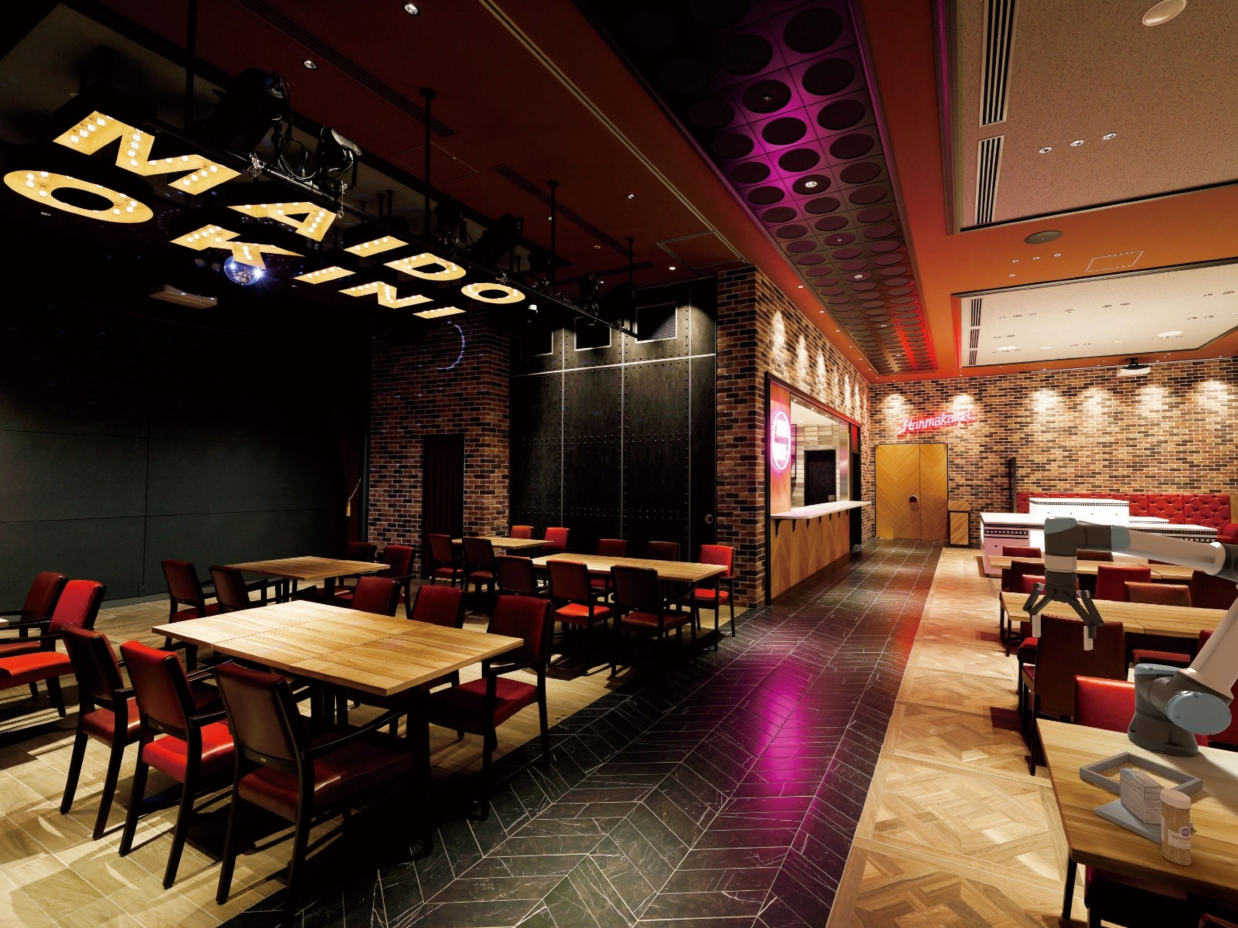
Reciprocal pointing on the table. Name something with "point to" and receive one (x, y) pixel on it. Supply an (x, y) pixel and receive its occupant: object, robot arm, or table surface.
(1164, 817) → the sprinkles bottle
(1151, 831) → the board
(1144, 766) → the grey rectangular frame
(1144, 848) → the table surface
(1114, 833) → the table surface
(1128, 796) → the medicine box
